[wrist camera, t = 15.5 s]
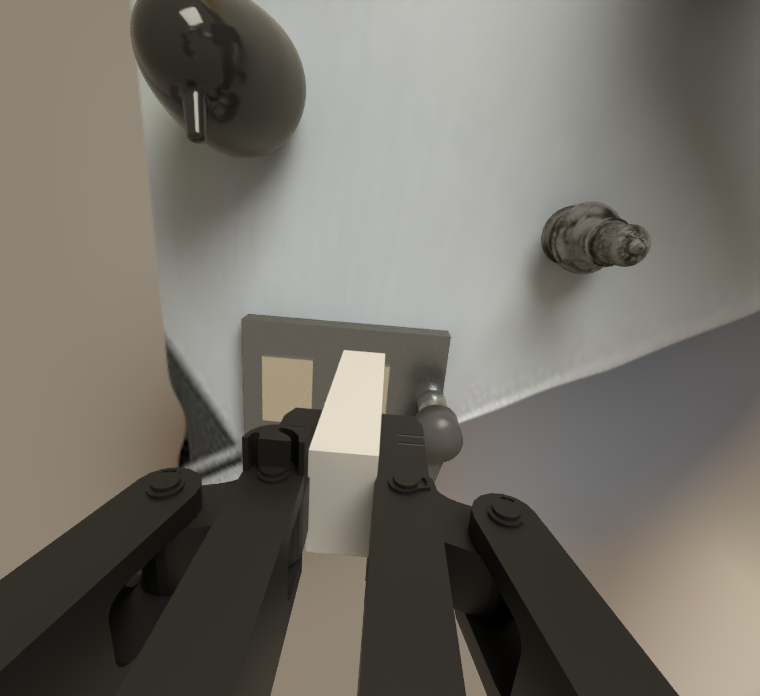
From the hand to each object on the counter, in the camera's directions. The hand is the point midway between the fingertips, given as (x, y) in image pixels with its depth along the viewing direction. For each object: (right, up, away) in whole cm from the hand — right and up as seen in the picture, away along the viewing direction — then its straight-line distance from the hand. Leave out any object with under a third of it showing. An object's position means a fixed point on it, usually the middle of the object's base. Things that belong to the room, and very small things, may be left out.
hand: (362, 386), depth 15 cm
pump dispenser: (-10, +23, +21) cm, 32 cm away
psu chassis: (-3, -3, +29) cm, 29 cm away
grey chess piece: (+18, +12, +24) cm, 32 cm away
